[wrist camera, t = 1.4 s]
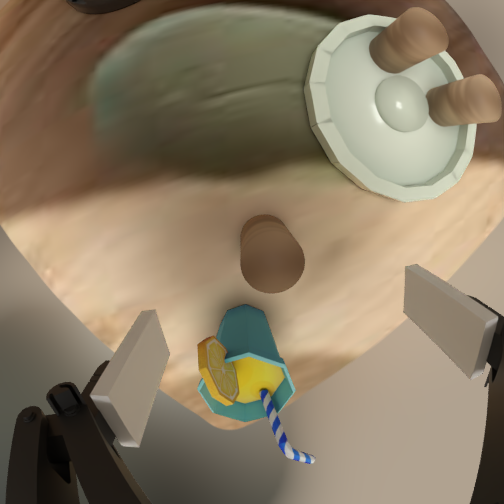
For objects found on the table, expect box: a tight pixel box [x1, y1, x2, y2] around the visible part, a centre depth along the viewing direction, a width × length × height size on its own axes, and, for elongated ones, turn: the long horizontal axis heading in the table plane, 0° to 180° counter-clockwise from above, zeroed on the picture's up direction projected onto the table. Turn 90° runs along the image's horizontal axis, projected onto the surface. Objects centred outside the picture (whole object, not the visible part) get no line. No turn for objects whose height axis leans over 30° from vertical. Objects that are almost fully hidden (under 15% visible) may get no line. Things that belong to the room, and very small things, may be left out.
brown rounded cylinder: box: [369, 7, 448, 74], centre depth 19 cm, size 5×5×8 cm
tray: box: [304, 15, 476, 202], centre depth 24 cm, size 20×20×2 cm
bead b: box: [426, 74, 502, 127], centre depth 21 cm, size 5×5×8 cm
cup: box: [197, 304, 315, 464], centre depth 24 cm, size 14×8×15 cm, turn 42°
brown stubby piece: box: [241, 215, 305, 293], centre depth 25 cm, size 5×5×8 cm
